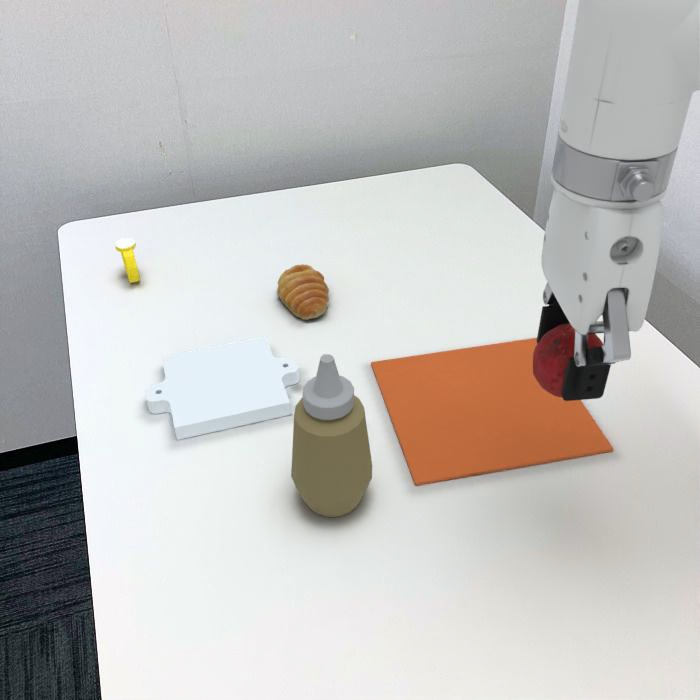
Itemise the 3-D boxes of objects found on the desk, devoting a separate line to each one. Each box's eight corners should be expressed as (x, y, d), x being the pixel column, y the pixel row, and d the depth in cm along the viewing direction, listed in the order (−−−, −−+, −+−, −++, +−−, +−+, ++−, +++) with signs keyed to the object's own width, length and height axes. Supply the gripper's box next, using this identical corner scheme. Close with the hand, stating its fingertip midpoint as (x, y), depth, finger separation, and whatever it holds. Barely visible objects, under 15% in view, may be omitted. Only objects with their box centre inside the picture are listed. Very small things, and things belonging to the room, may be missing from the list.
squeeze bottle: (283, 519, 73) (267, 381, 61) (306, 459, 79) (295, 325, 68) (362, 534, 71) (361, 395, 60) (380, 472, 77) (382, 336, 66)
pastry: (339, 317, 99) (338, 293, 96) (290, 327, 97) (288, 304, 95) (319, 280, 106) (318, 258, 103) (274, 290, 104) (271, 267, 102)
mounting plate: (286, 343, 95) (285, 332, 93) (312, 409, 85) (311, 397, 84) (143, 372, 91) (140, 360, 89) (154, 445, 81) (150, 432, 80)
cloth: (538, 339, 94) (538, 337, 94) (612, 451, 79) (613, 448, 79) (371, 364, 91) (370, 361, 91) (415, 485, 76) (415, 483, 76)
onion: (547, 426, 59) (563, 348, 54) (515, 381, 64) (526, 305, 59) (611, 410, 61) (632, 333, 55) (575, 367, 65) (591, 292, 60)
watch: (120, 269, 109) (111, 234, 105) (139, 265, 110) (130, 230, 106) (127, 290, 105) (118, 254, 101) (146, 286, 106) (138, 250, 102)
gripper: (729, 223, 43) (655, 442, 54) (618, 112, 56) (577, 306, 67) (602, 231, 42) (554, 450, 53) (521, 117, 56) (496, 312, 67)
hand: (568, 368), depth 60 cm, fingers closed on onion, 5 cm apart
